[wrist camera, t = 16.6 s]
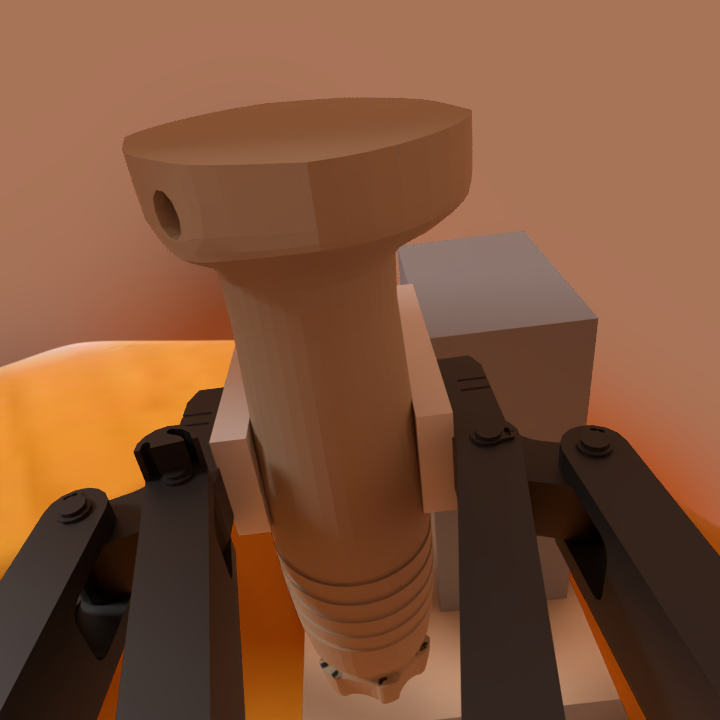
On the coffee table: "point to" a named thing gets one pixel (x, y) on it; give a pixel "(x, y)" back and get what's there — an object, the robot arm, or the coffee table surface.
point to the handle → (323, 341)
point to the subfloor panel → (443, 676)
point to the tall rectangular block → (506, 356)
